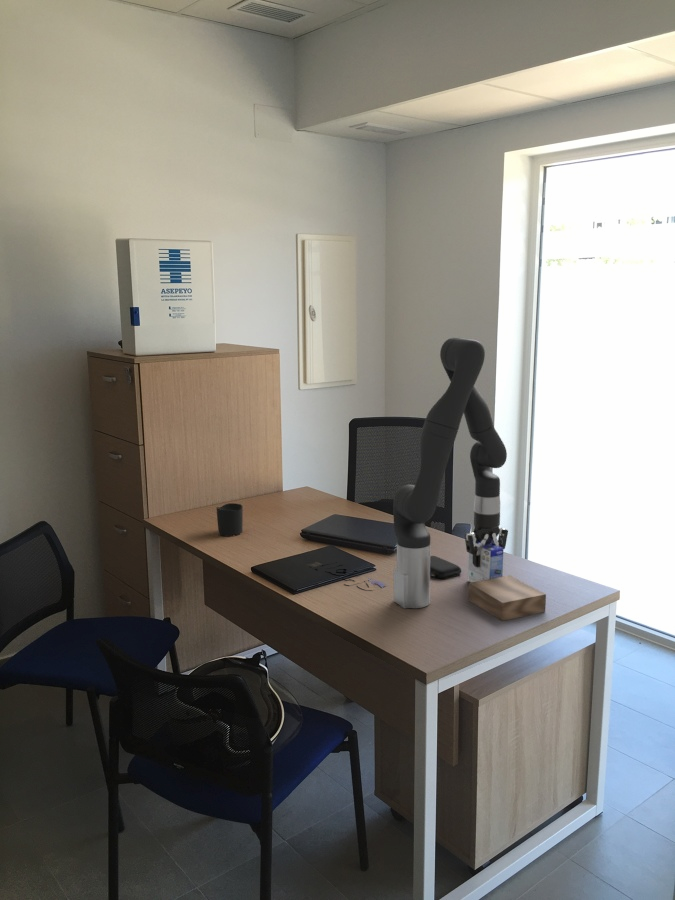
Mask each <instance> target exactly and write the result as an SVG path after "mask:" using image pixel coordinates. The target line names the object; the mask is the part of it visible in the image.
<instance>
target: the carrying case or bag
mask: <svg viewBox="0 0 675 900" xmlns="http://www.w3.org/2000/svg"><path fill="white" fill-rule="evenodd" d="M461 573H462V568H461V567H460V566H459V565H458V564H455V563H453V562H450V561H448V560H446V559H443V558H441V557H439V556H436V555H430V577H434V578H436V579H438V580H445V579H448V578H452V577H455V576H456V577H457V576H459V575H460V574H461Z"/></svg>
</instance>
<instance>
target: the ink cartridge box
mask: <svg viewBox="0 0 675 900" xmlns="http://www.w3.org/2000/svg"><path fill="white" fill-rule="evenodd" d="M473 543H474V541H473ZM492 543H493V539H492V540H491V542H490V544H489V543H488V544H485V545H484V547H483V548H482V550H481V552H480V567H475V566H474V565H473V554H470V553H469V552H468V555H467V557H468V560H467V582H468V583H471V582H477V581H482V580H487V579H493V578H498V577H503V576H504V575H503V572H504V566H503V565H504V550H505V549H504V548H502V547H499V546H495V545H493V544H492ZM479 545H480V543H479ZM477 548H478V547H477Z"/></svg>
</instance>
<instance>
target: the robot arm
mask: <svg viewBox="0 0 675 900" xmlns="http://www.w3.org/2000/svg"><path fill="white" fill-rule="evenodd" d="M485 353H486V351H485V346H484V345H483V344H482V343H481V342H480V341H478V340H475V339H472V338H471V339H470V338H463V337H462V338H461V337H450V338H447V339H446V340H445V341H444V342H443V344H442V345H441V347H440V353H439V357H440V361H441V364H442V366H443V368H444V371H445V373H446V375H447V377H448V379H449V381H450V383H449V386H448V387H447V389H446V391H445V392H444V393H443V395H442V396H441V397H440V398H439V399H438V400H437V401H436V402H435V403H434V405H432V407H431V408H430V410H429V411H428V413H427V415H426V417H425V419H424V423H423V426H422V429H421V433H420V437H419V458H420V465H419V473H418V475H417V479H416V481H415V485H414V484H404V485H402V486H400V488H399V489H397V491H396V493H395V495H394V498H393V503H392V504H393V505H392V507H393V509H392V511H393V514H392V515H393V532H394V533H395V537H396V568H394V569H393V602H394V603H396V605H397V604H398V605H399V606H400V607H401V608H403V609H419V608H420V609H421V608H425V607H427V606H429V605H430V604H431V603H430V602H431V600H430V599H431V594H430V593H431V585H430V584H431V576H430V556H431V533H430V532H429V530H428V529H427V527H426V523H427V522H428V521H429V520H431V518H432V517H433V515H434V513H436V512H435V511H436V509H437V505H438V503H439V502H438V501H439V496H440V491H441V486H442V482H443V479H444V475H445V471H446V468H447V465H448V462H449V458H450V455H451V452H452V450H453V446H454V444H455V441H456V438H457V435H458V433H459V428H460V425H461V422H462V418H463V415H464V419H465V422H466V425H467V428H468V433H469V435H470V437H471V438H472V439H473V440H474V441H476V442H475V443H474V444H473V445H472V446H471V448H470V452H469V459H470V465H471V469H472V474H473V477H474V480H475V489H474V490H475V491H474V494H475V496H474V500H473V526H474V529H473V532H471V533H468V532H465V533H464V540H465V547H466V548H465V549H466V552H467V553H468V554H469V553H470V554H473V565H474V566H475V567H480V552H481V550H482V548H483V547H484V545H485V544H488V543H489V544H490V542H491V540H492V539H493V543H492V544H493V545H495V546H499V547H502V548H504V549H503V550H505V549H506V546H507V545H506V544H507V541H508V534H509V530H508V529H506V528H505V527H504V528H503V527H500V525H501V524H500V523H501V497H500V495H501V494H500V493H501V480H500V479H501V478H500V477H499V476H498V475H497V474H495V473H493V472H492V471H491V469H500V468H503V466H504V465H505V463H506V462H507V456H508V453H507V448H506V445H505V444H504V441H503V439H502V438H501V437H500V435H499V433H498V432H497V430H496V428H495V427H494V422H493V418H492V415H491V412H490V411H491V410H490V409H489V406H488V404H487V403H486V401H485V398H484V397H483V396H482V394H481V393H480V391H479V390H478V388H477V386H476V385H475V384H476V382H477V380H478V377H479V376H480V373H481V370H482V368H483V365H484V362H485V357H486V355H485ZM473 542H474V543H473ZM479 543H480V545H479ZM477 547H478V548H477Z"/></svg>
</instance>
